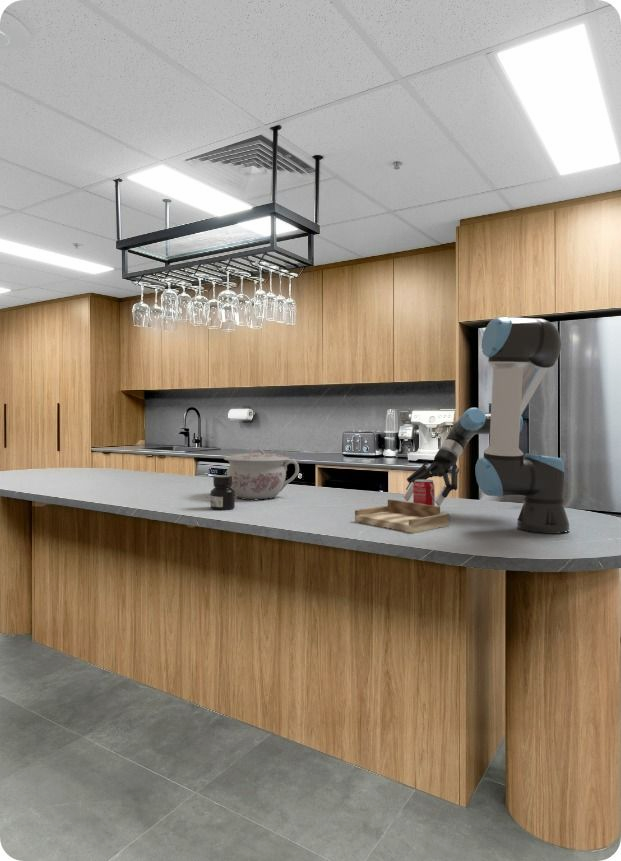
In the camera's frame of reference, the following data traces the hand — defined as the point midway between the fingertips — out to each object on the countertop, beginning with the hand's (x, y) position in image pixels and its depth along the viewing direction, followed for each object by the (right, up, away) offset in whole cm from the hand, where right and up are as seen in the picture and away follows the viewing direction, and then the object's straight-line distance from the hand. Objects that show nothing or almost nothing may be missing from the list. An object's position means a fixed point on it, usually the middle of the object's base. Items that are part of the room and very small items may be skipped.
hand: (420, 501), depth 203 cm
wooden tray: (-8, -6, -11) cm, 15 cm away
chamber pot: (-60, -4, +46) cm, 76 cm away
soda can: (+1, -6, 0) cm, 6 cm away
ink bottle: (-70, -5, +17) cm, 73 cm away
